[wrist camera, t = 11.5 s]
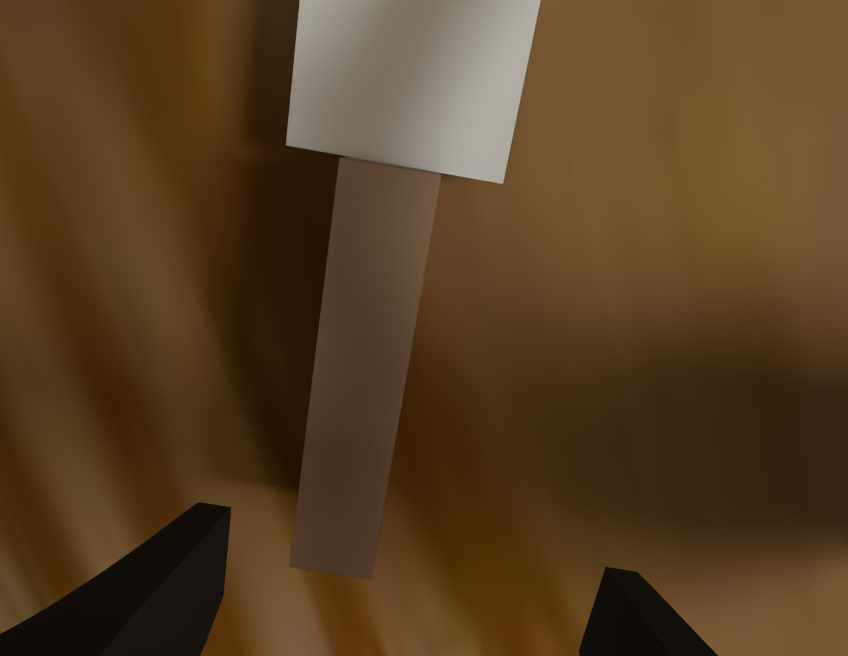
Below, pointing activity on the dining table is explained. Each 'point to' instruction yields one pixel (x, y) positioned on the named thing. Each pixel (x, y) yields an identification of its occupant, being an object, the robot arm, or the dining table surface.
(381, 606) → the dining table surface
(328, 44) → the turner
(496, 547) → the dining table surface
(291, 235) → the dining table surface
